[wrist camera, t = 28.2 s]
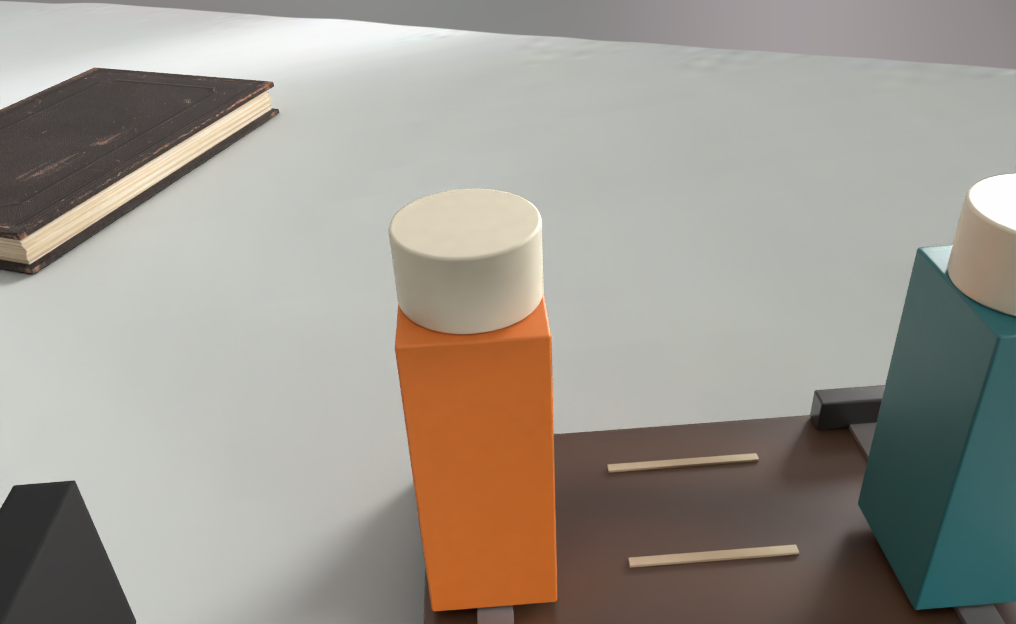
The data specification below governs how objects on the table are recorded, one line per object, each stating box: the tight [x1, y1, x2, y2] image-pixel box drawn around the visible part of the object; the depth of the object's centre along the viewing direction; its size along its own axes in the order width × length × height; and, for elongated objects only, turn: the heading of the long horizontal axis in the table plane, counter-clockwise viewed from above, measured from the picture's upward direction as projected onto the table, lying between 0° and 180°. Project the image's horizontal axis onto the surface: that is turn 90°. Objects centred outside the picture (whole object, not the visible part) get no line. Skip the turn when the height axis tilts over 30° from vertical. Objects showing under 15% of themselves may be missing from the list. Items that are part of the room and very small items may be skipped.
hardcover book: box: [0, 68, 279, 274], centre depth 56 cm, size 16×23×2 cm
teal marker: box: [858, 174, 1016, 610], centre depth 23 cm, size 4×4×11 cm
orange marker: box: [389, 189, 557, 611], centre depth 23 cm, size 4×4×11 cm
